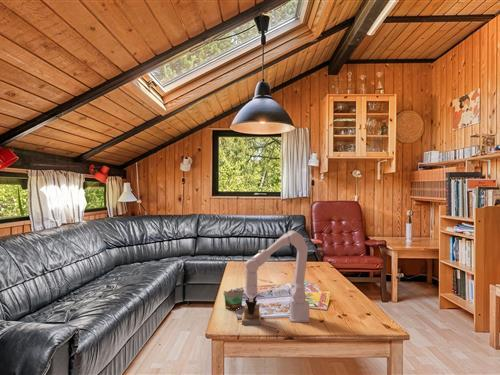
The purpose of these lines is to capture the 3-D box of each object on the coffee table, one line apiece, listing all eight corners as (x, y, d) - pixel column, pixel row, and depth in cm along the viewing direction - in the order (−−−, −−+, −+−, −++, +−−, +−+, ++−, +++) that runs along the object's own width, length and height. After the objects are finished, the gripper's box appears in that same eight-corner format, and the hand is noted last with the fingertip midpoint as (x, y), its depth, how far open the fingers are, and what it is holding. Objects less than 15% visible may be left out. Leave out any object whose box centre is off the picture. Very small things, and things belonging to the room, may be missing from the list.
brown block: (259, 314, 164) (259, 304, 163) (259, 318, 159) (259, 308, 158) (245, 314, 164) (245, 304, 164) (244, 318, 159) (244, 308, 159)
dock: (260, 316, 166) (260, 312, 166) (260, 325, 156) (260, 320, 156) (243, 316, 166) (243, 312, 166) (241, 324, 156) (241, 320, 156)
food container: (229, 313, 170) (229, 294, 170) (223, 309, 175) (223, 290, 175) (248, 307, 178) (248, 289, 178) (242, 304, 183) (242, 286, 183)
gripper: (244, 279, 168) (244, 305, 169) (242, 288, 154) (242, 317, 154) (257, 279, 168) (257, 305, 168) (257, 288, 154) (257, 317, 154)
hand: (251, 311), depth 161 cm, fingers open, 7 cm apart
